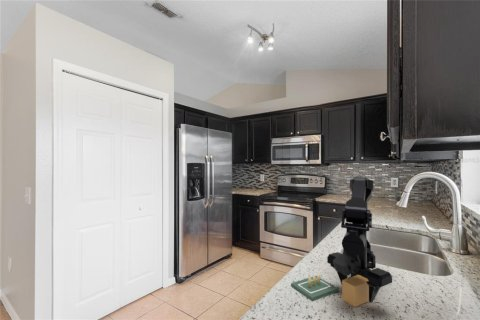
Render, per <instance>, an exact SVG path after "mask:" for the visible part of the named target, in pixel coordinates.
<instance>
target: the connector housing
mask: <svg viewBox="0 0 480 320" xmlns="http://www.w3.org/2000/svg"><path fill="white" fill-rule="evenodd" d="M349 277H350V278H348V277H347V279H344V280H342V285H341V286H342V287H341V291H342V292H341V294H342V295H341V297H342V298H341V299H342V300H343V301H344V302H346V303H347V304H349V305H351V306H352V307H354V308H356V307H358V306H361V305H364V304H365V303H367V302H369V286H368V284H367V283H366V282H368V279H367V278H365V277H362V276H360V275H356V276H353V277H351V276H349Z"/></svg>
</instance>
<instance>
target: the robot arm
mask: <svg viewBox="0 0 480 320" xmlns="http://www.w3.org/2000/svg"><path fill="white" fill-rule="evenodd" d="M374 183H375V182H374V180H372V179H369V178H368V177H365V176H363V177H362V176H355V177H352V179H350V180H349V190H350V191H351V198H350V199H348V200H347V201H346V202H345V205H344V207H342V213H341V223H340V224H341V225H340V227H341V228H343V229H345V230H346V232H345V234H344V236H343V238H342V240H341V246H342V251H343V252H342V253H341V252H339V251H337V252H332V253H329V254H328V255H327V257H326V258H327V259H326V262H327V263H328V265H330V267H331V268H333V269H334V270H335V272H336V273H337V276H338V278H339V281H340V284H341V286H342V280H344V279H347V278H350V277H353V276H356V275H360V276H362V277H365V278H367V279H368V282H366V283H367V284H368V286H369V301H368V302H369V303H371V304H372V303H373V302H374V300H375V299H376V297H377V294H378V293H379V291H380V289H381V288H382V287H384V286H387V285H390V284H392V283H393V276H392V274H391V273H390V271H387V270H384V269H382V268H379V267H376V263H377V261H376V255H375V254H374V252H373V251H372V246H371V243H370V242H369V239H367V236H368V235H367V232H370V229H372V228H373V213H372V212H371V209H368V202H369V201H370V199H372V197H373V194H372V193H373V192H374V189H375V187H374ZM348 276H349V277H348Z"/></svg>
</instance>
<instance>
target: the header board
mask: <svg viewBox="0 0 480 320" xmlns="http://www.w3.org/2000/svg"><path fill="white" fill-rule="evenodd" d="M290 287H292V288H293V289H295V291H297V292H298V293H300V294H301V295H303V296H305V298H307V299H309V300H310V301H311V302H314V301H317V300H318V299H321V298H325V297H328V296H330V295H333V294H335V293H338V292H339V287H337V286H335V285H334V284H331V283H330V282H328V281H326V280H324V279H323V278H321V276H320V274H317V275H313V276H310V277H307V278H304V279H299V280H298V281H294V282H291V283H290Z"/></svg>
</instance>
